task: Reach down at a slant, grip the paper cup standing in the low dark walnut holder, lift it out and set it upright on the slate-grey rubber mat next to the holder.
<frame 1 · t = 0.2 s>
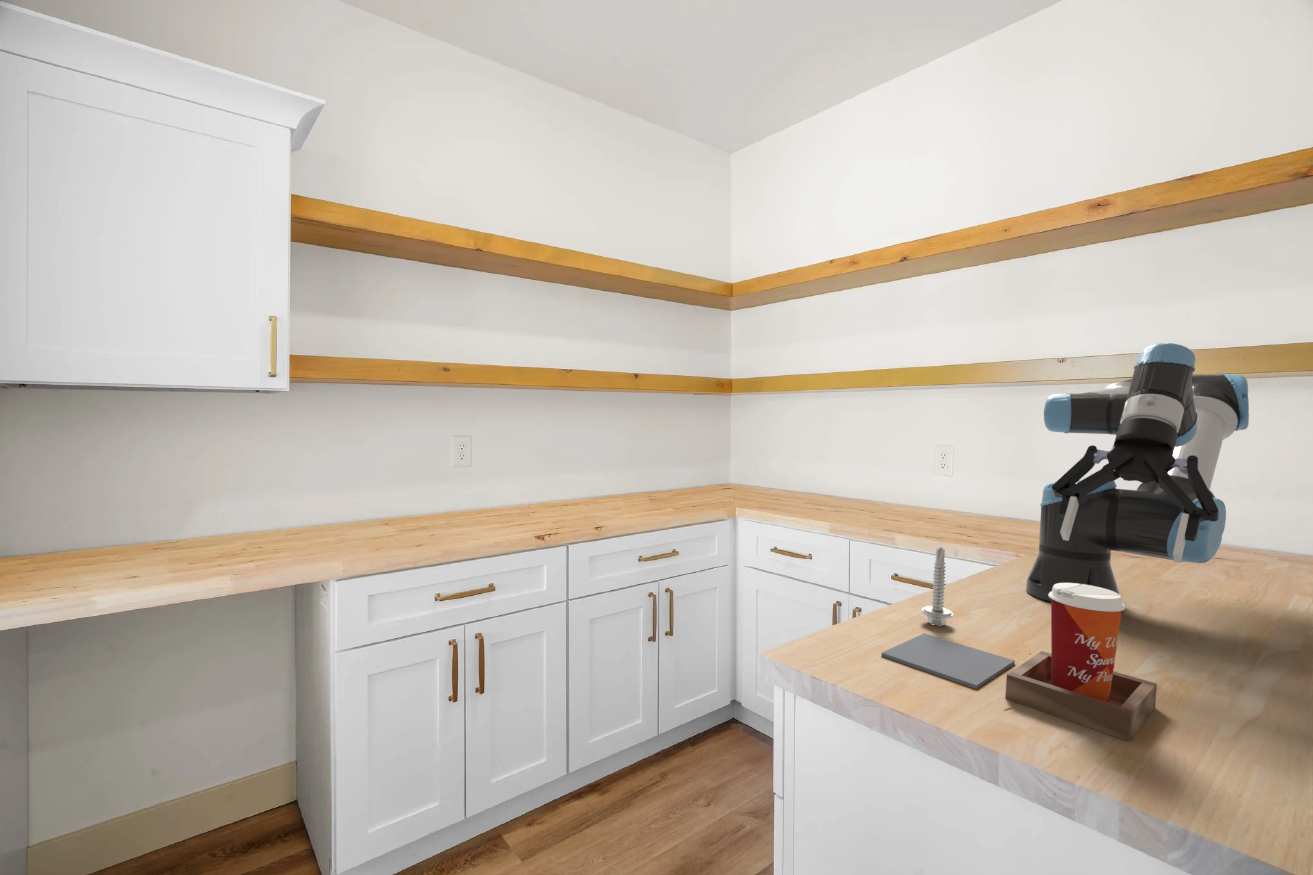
hand: (1117, 547, 91), 16 cm above the counter, tool tilted 35°, fingers open, 13 cm apart
cup holder: (1079, 702, 75), on the counter
paper cup: (1079, 704, 75), resting in cup holder
slate mat: (947, 659, 87), on the counter
screw: (936, 625, 102), on the counter
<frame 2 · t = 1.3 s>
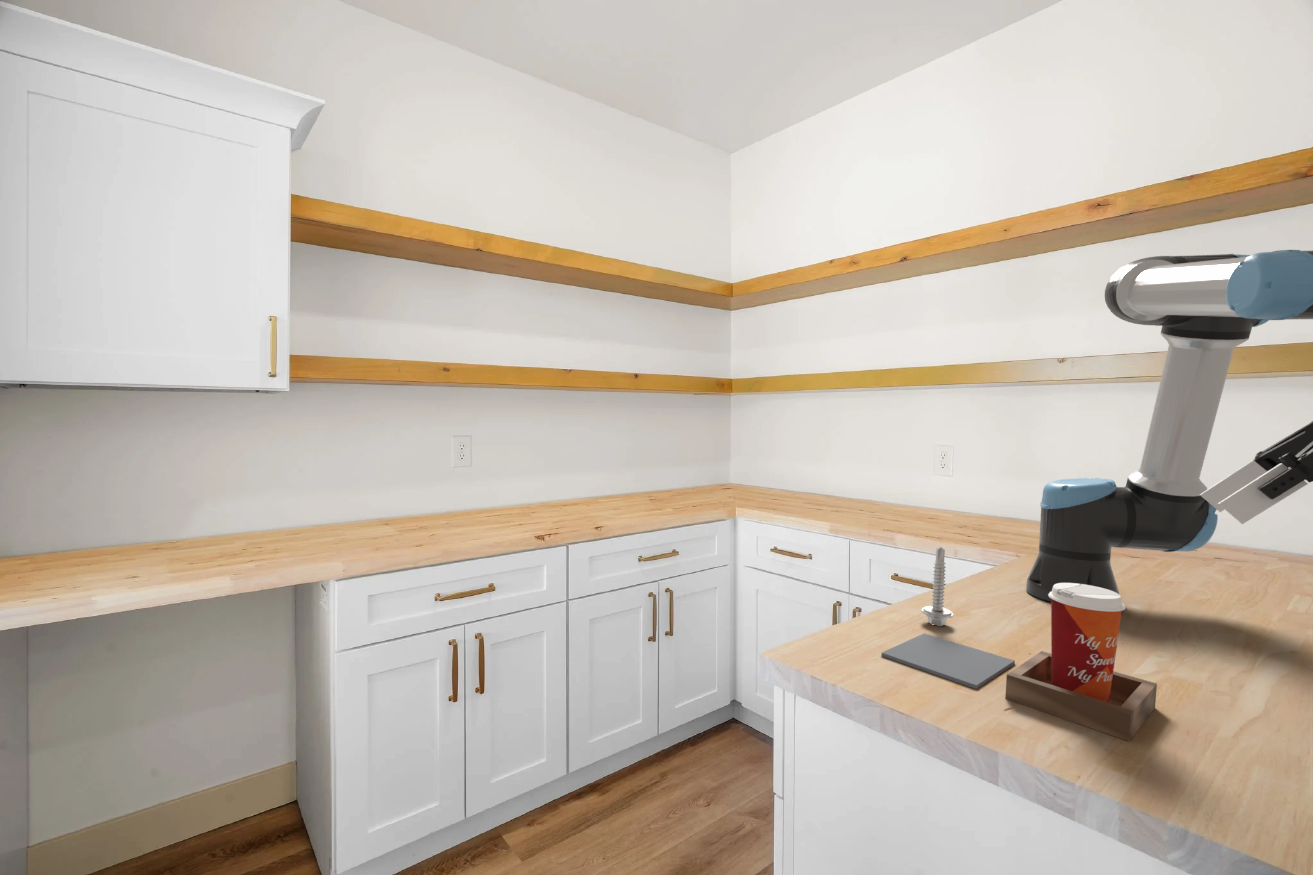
hand: (1218, 508, 70), 25 cm above the counter, tool tilted 45°, fingers open, 13 cm apart
nothing on the counter moved.
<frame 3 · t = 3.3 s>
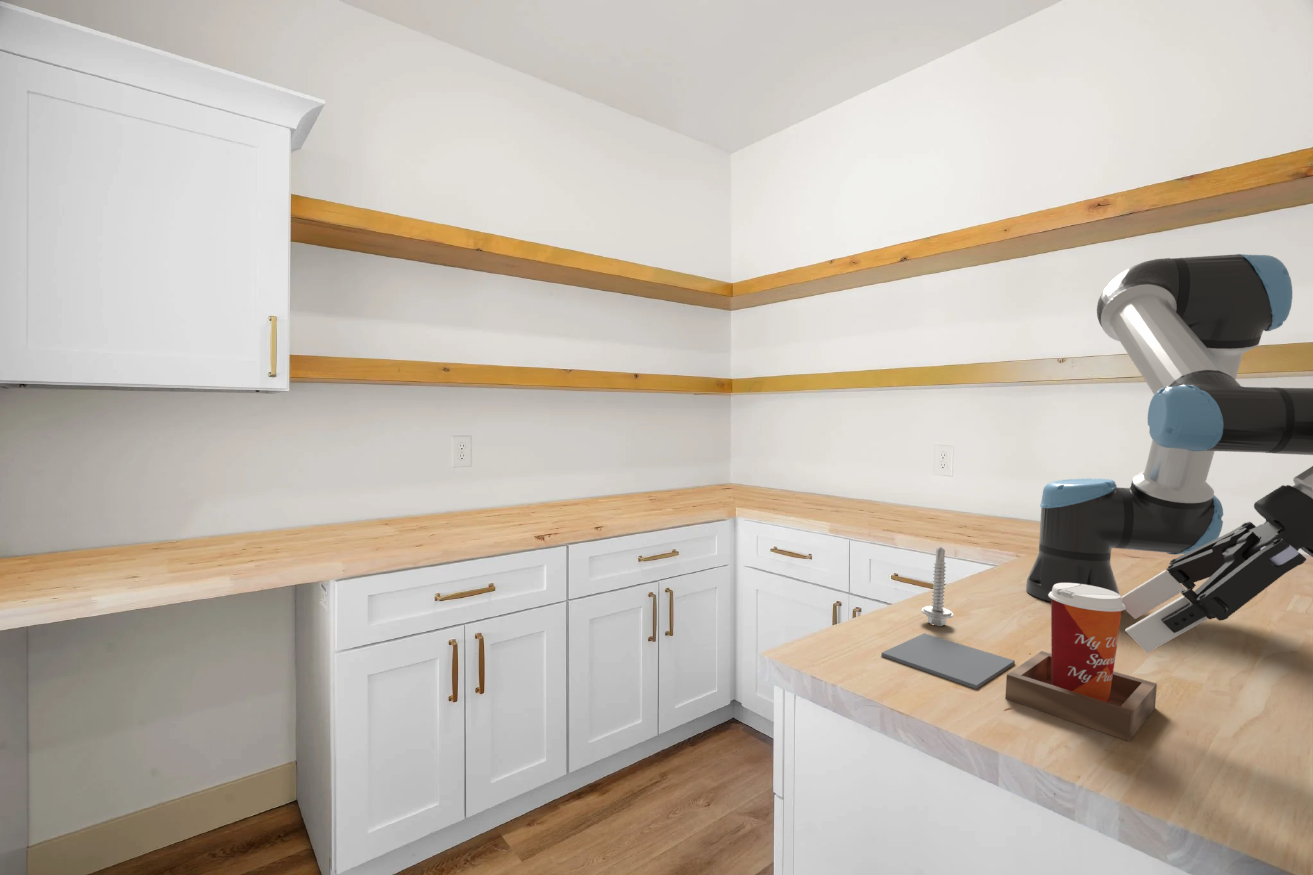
hand: (1130, 624, 71), 11 cm above the counter, tool tilted 45°, fingers open, 13 cm apart
nothing on the counter moved.
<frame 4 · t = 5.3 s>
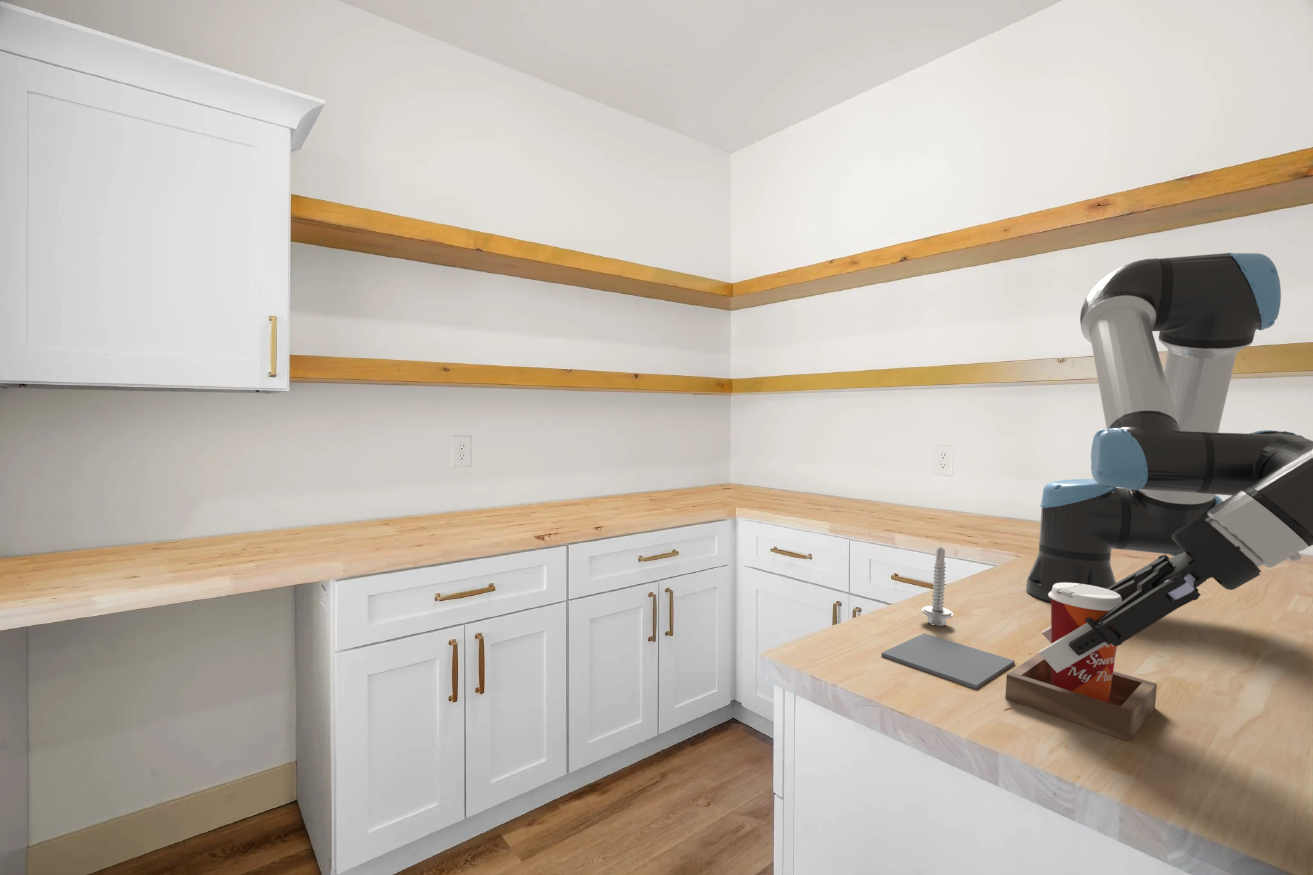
hand: (1049, 650, 77), 6 cm above the counter, tool tilted 45°, fingers closed on paper cup, 8 cm apart
paper cup: (1079, 704, 75), resting in cup holder, touching gripper
everything else where it was.
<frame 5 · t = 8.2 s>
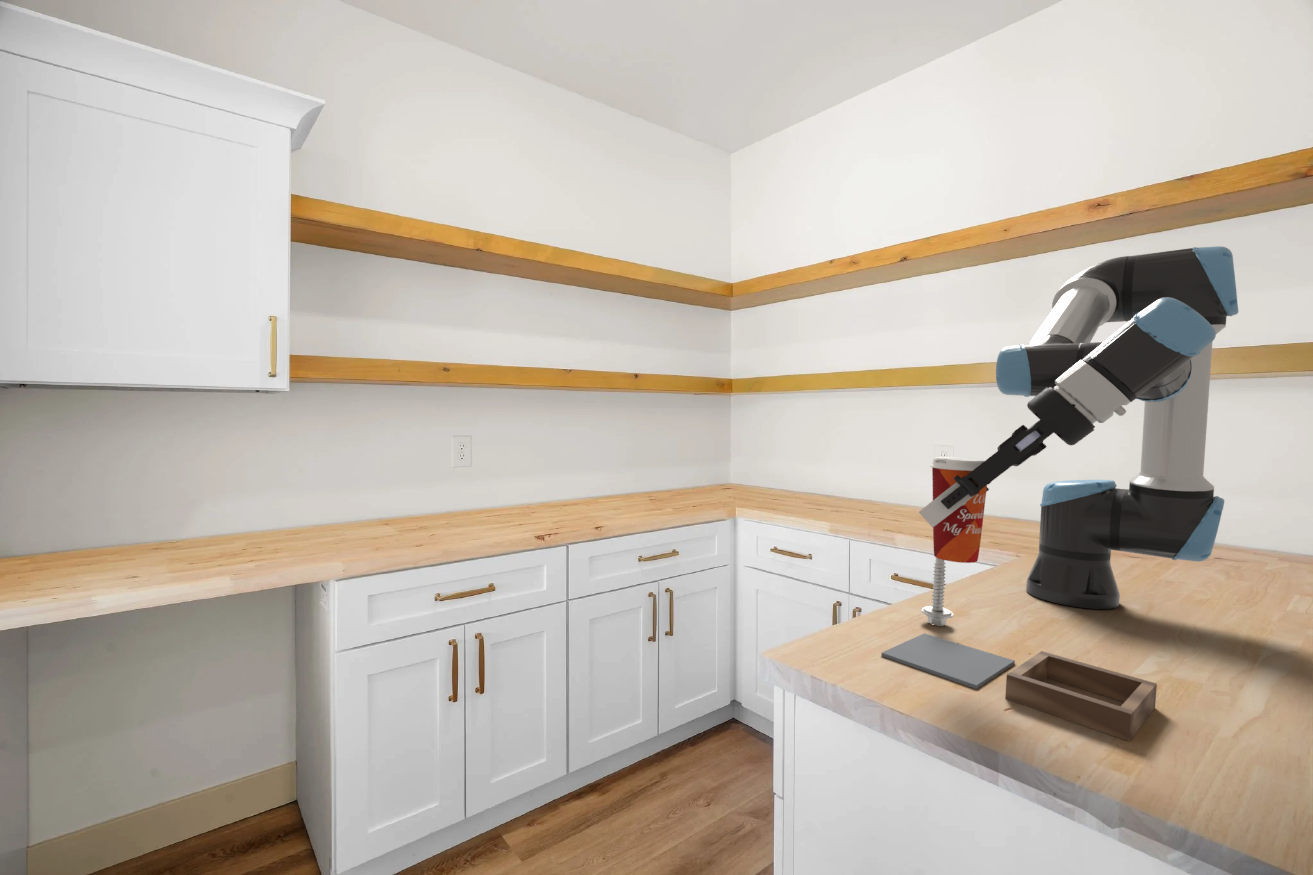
hand: (931, 515, 88), 20 cm above the counter, tool tilted 45°, fingers closed on paper cup, 8 cm apart
paper cup: (955, 559, 86), point 15 cm above the counter, touching gripper
everything else where it was.
when the fingers open (7 cm above the counter, at t = 11.1 s): paper cup drops 1 cm, resting on slate mat.
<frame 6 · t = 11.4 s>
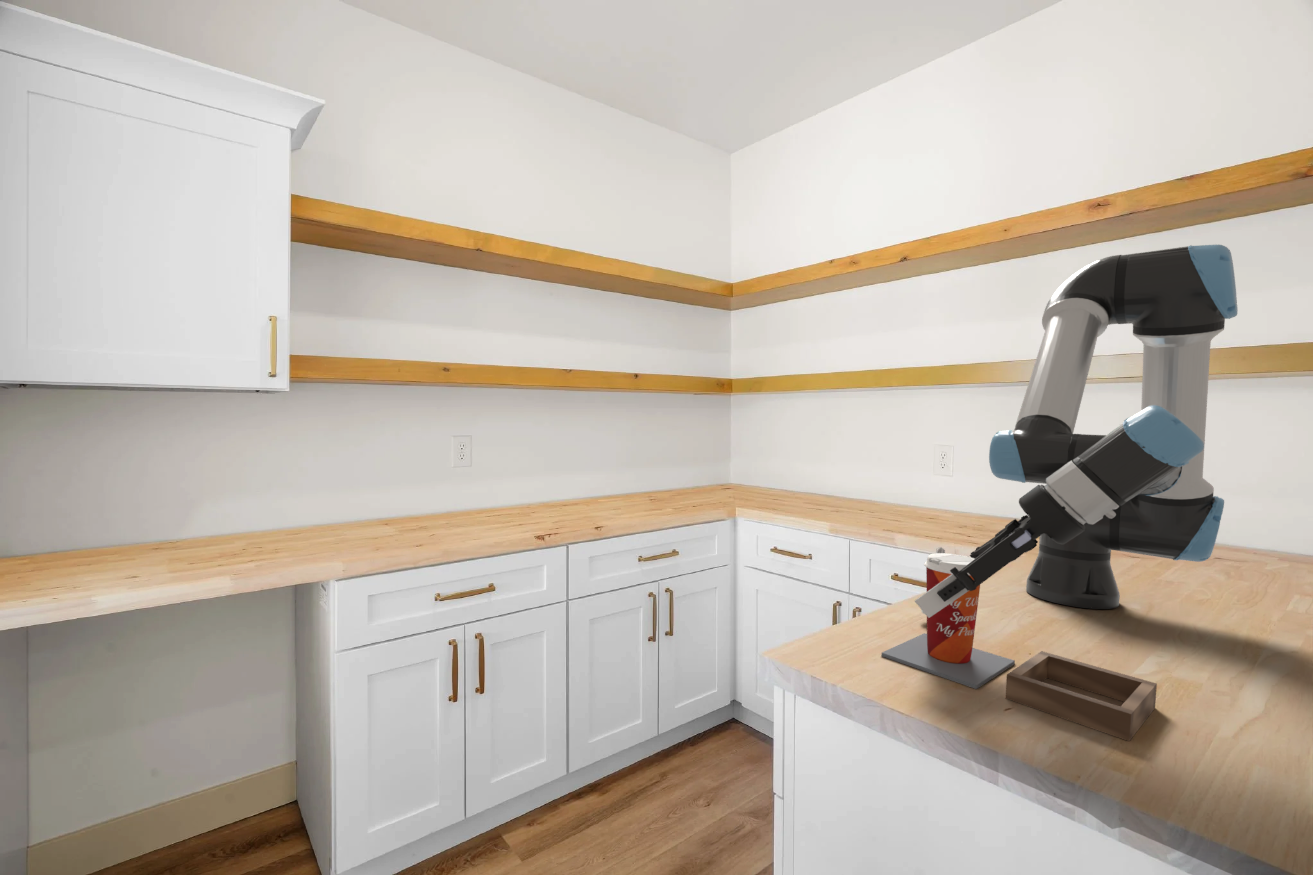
hand: (930, 598, 88), 8 cm above the counter, tool tilted 45°, fingers open, 12 cm apart
paper cup: (949, 657, 88), resting on slate mat
everything else where it was.
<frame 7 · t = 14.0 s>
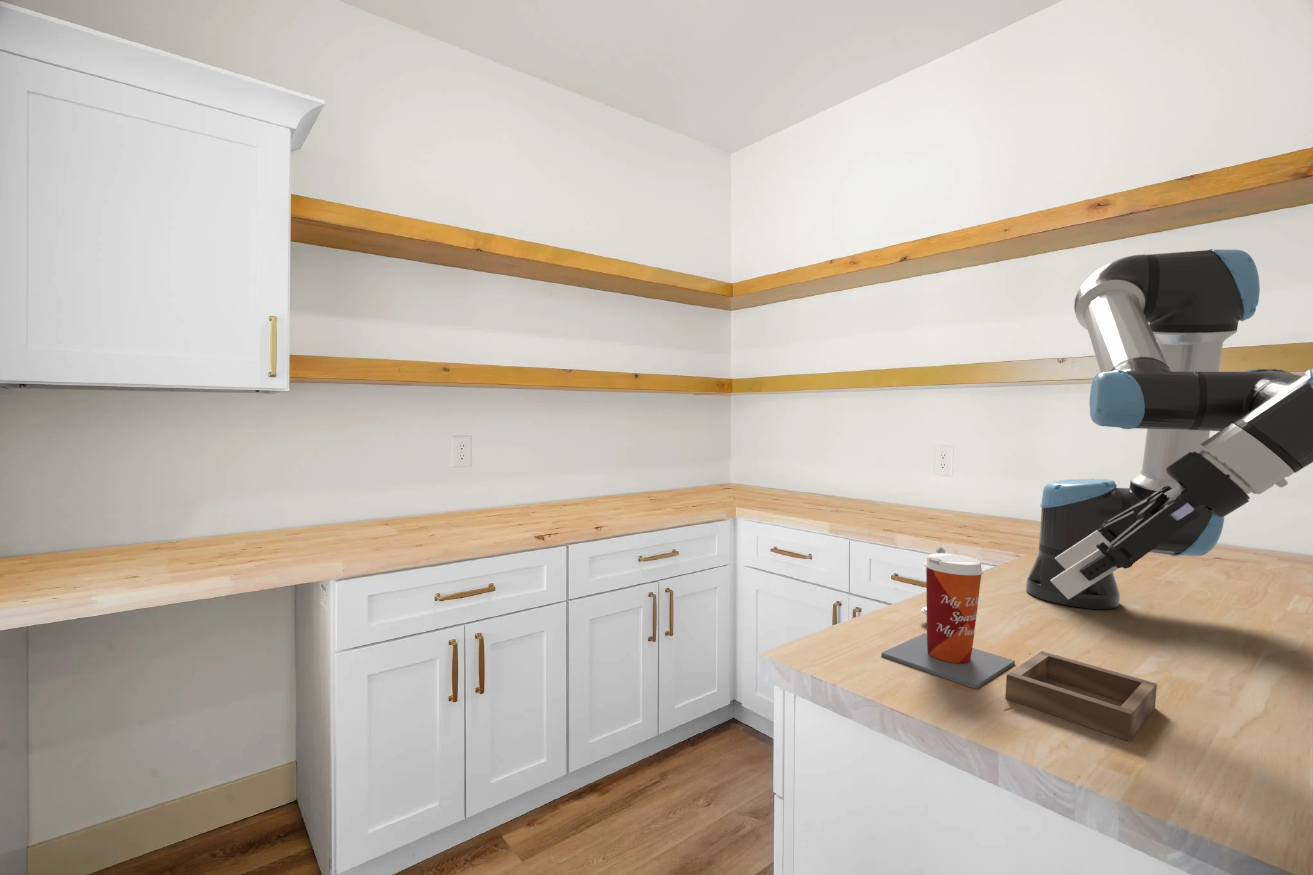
hand: (1060, 577, 81), 14 cm above the counter, tool tilted 45°, fingers open, 13 cm apart
nothing on the counter moved.
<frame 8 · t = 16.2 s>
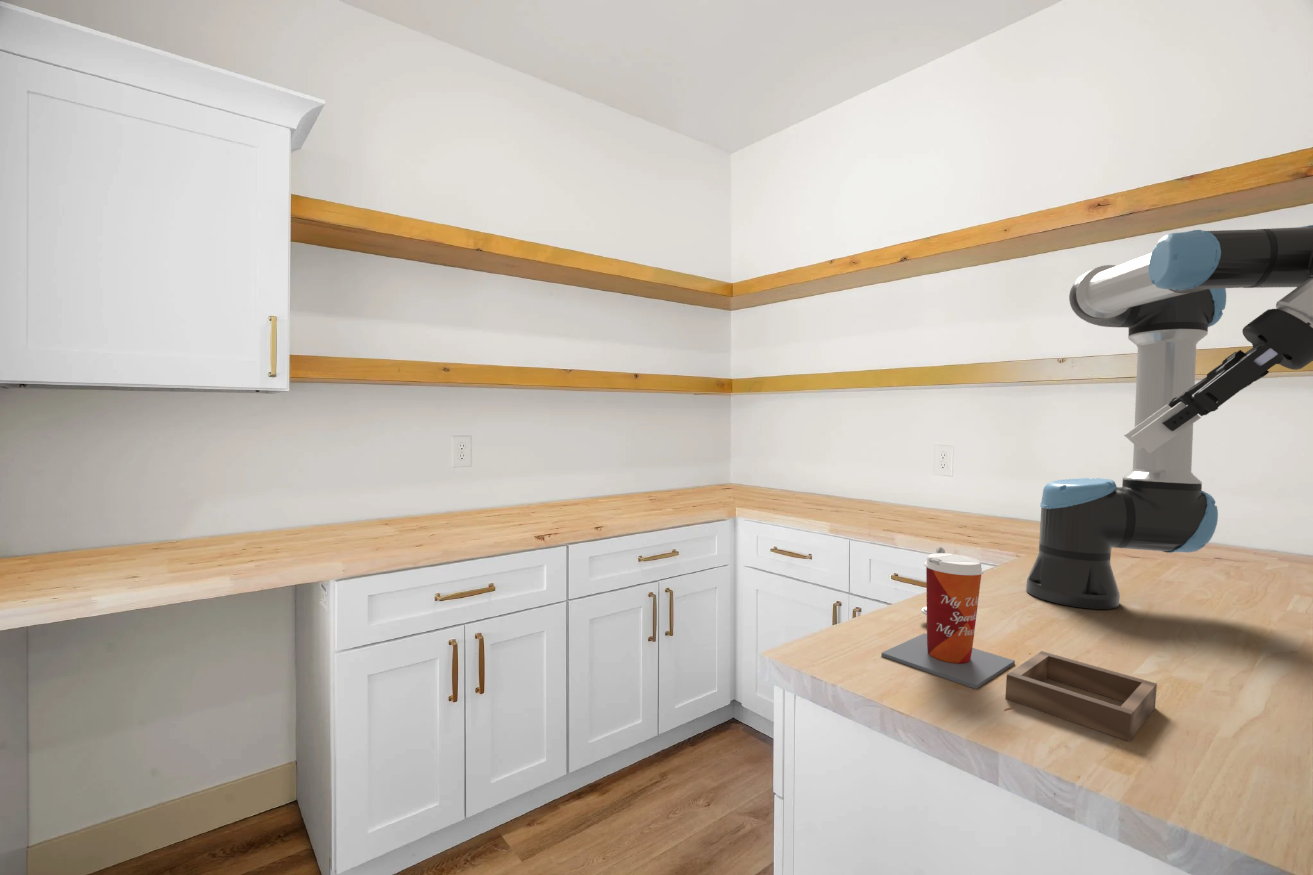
hand: (1135, 443, 83), 32 cm above the counter, tool tilted 45°, fingers open, 13 cm apart
nothing on the counter moved.
at the end: paper cup inside the target area on the slate mat (0.4 cm from its centre), point 0.3 cm above the slate mat's base; paper cup tilted 0°; the gripper is holding nothing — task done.
